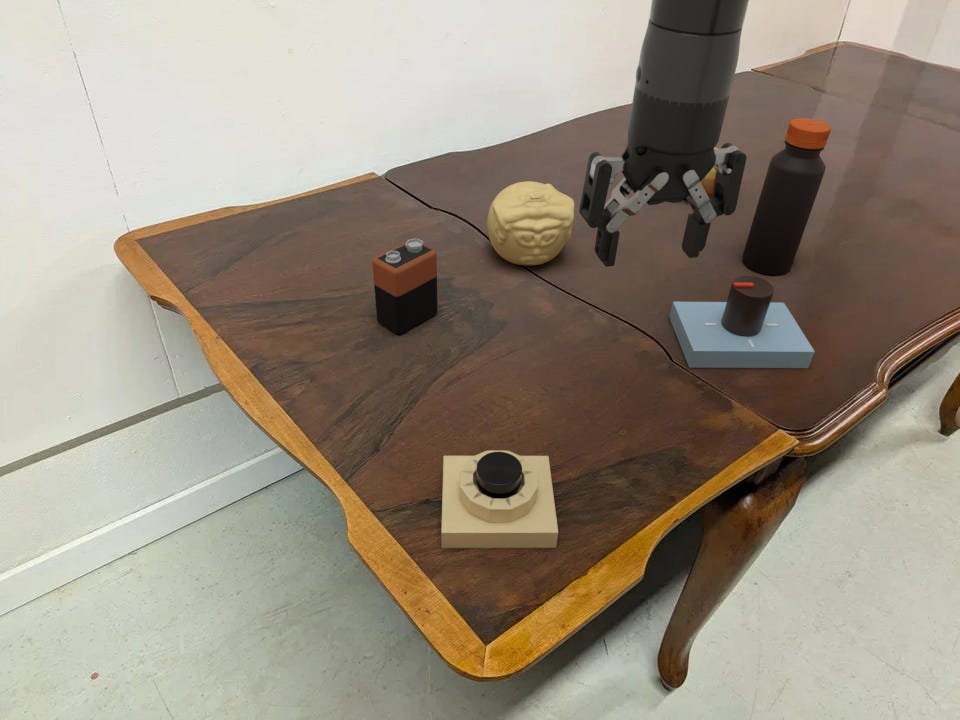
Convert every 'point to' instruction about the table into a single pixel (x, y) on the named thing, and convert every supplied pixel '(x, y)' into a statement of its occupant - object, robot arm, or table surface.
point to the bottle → (787, 198)
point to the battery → (405, 285)
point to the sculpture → (530, 222)
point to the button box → (498, 507)
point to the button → (498, 474)
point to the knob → (747, 305)
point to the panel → (739, 338)
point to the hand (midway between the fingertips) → (648, 257)
